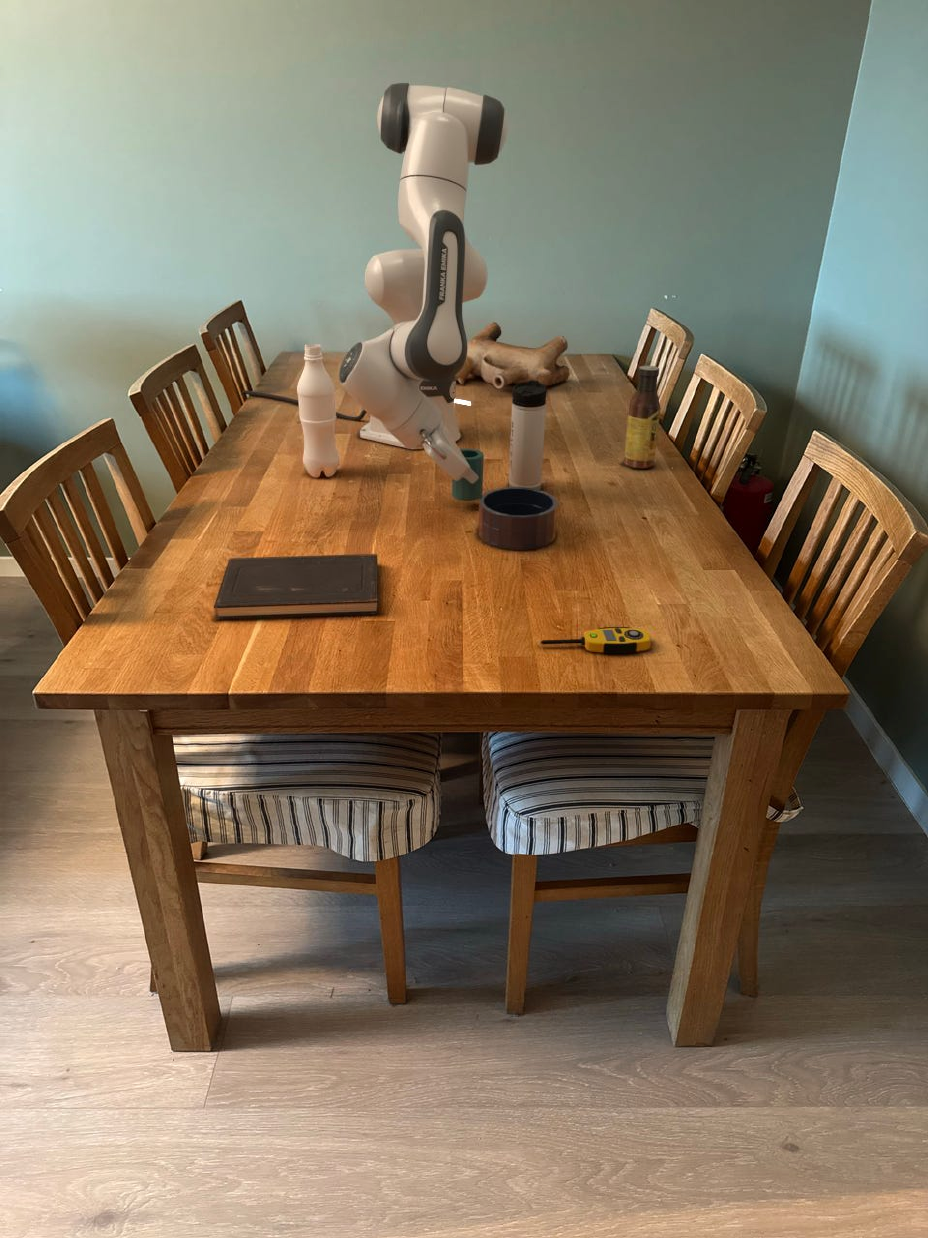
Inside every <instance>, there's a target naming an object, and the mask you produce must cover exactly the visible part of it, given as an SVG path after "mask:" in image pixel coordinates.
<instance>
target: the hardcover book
mask: <svg viewBox="0 0 928 1238" xmlns="http://www.w3.org/2000/svg"><path fill="white" fill-rule="evenodd" d="M378 565H379V564H378V554H377V553H359V554H358V553H357V554H327V555H326V554H325V555H324V554H323V555H322V554H321V555H294V556H293V555H291V556H261V557H260V556H258V557H257V556H256V557H255V556H253V557H229V559H228V562H227V564H226V568H225V571H224V574H223V577H222V579H221V583H220V585H219V586H220V587H219V590H218V593H217V596H216V598H215V602H214V604H213V609H216V611H217V613H216V616H215V620H216V621H225V620H226V621H227V620H228V621H229V620H230V621H231V620H255V619H256V620H257V619H258V620H259V619H283V618H285V619H287V618H311V617H339V616H366V615H367V616H368V615H378V614H379V570H378V569H379V568H378V567H379V566H378Z"/></svg>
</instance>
